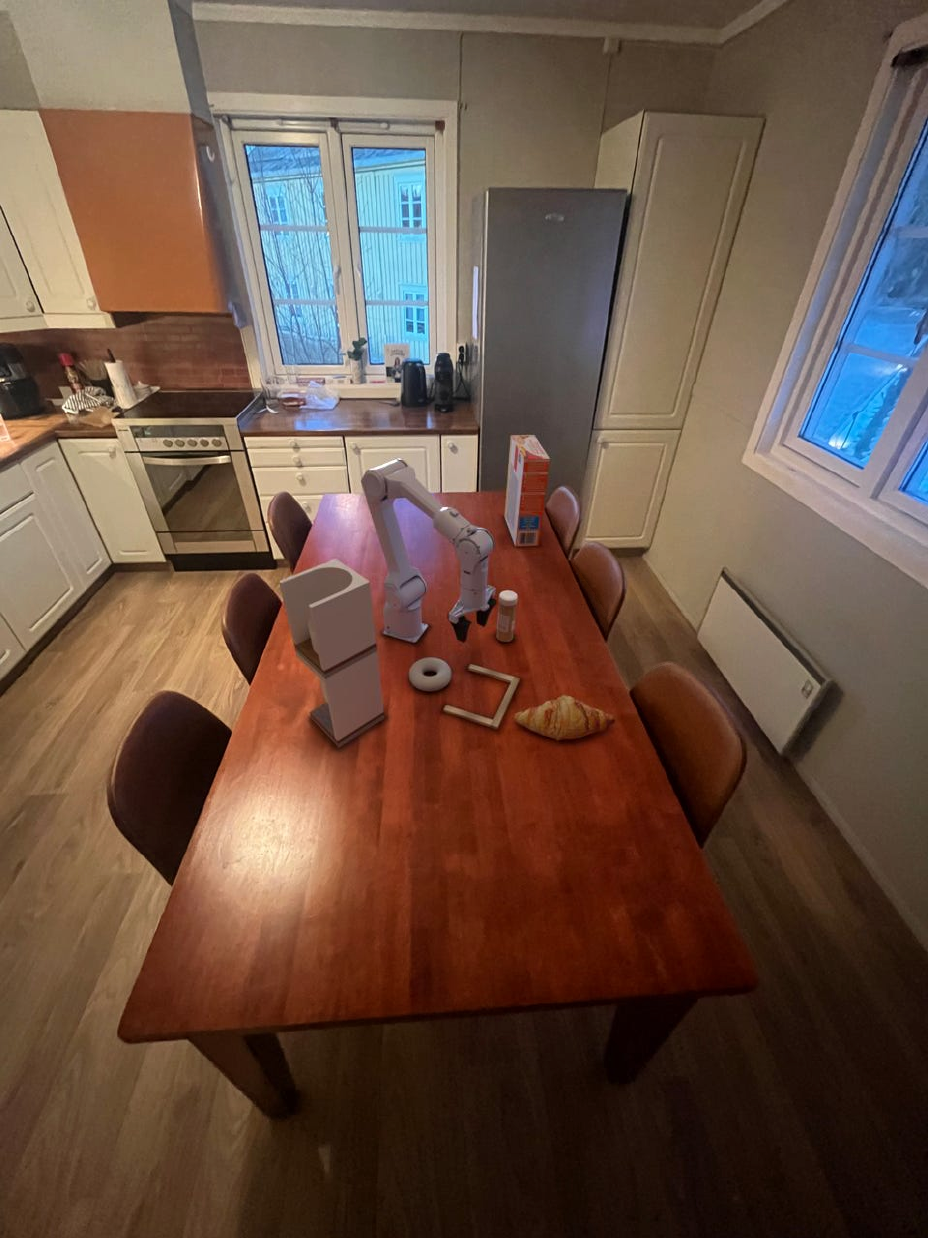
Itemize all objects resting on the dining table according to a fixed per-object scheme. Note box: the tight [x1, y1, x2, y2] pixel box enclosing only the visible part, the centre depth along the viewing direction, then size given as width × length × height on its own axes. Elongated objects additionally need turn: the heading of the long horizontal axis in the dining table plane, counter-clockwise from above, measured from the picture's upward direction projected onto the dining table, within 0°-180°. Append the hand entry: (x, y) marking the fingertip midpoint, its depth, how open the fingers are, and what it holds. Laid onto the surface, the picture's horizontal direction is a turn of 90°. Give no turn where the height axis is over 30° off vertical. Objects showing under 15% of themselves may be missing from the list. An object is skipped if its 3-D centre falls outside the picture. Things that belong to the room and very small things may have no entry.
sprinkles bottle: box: [495, 589, 519, 643], centre depth 127 cm, size 5×5×13 cm
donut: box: [408, 657, 452, 692], centre depth 117 cm, size 10×4×10 cm
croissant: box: [514, 694, 616, 742], centre depth 106 cm, size 21×10×8 cm, turn 90°
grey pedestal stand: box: [278, 558, 385, 748], centre depth 97 cm, size 11×11×35 cm
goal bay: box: [442, 663, 521, 730], centre depth 114 cm, size 12×16×1 cm
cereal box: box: [503, 434, 551, 547], centre depth 170 cm, size 23×8×30 cm, turn 6°
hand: (471, 632), depth 117 cm, fingers open, 7 cm apart
